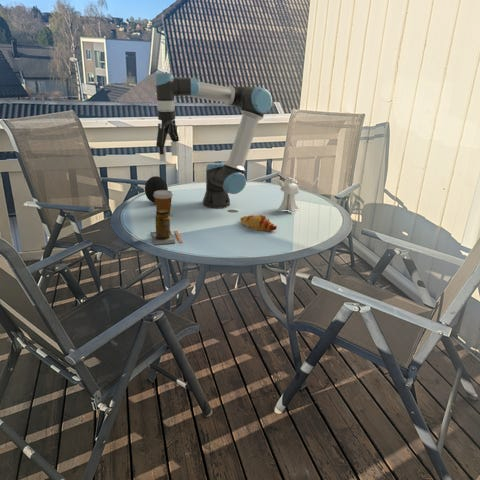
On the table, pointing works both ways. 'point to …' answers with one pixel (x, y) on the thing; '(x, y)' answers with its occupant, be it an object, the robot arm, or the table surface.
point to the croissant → (258, 223)
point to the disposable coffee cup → (163, 199)
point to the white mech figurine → (289, 194)
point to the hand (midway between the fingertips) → (169, 158)
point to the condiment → (162, 226)
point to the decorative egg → (154, 187)
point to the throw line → (178, 237)
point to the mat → (162, 241)
